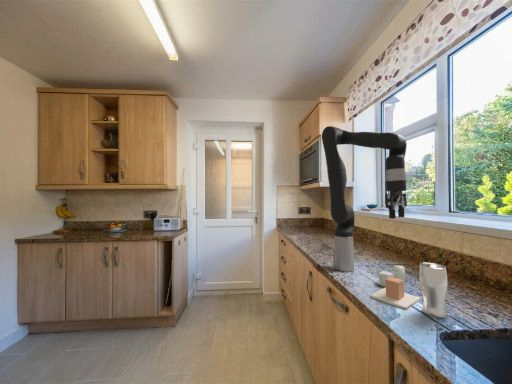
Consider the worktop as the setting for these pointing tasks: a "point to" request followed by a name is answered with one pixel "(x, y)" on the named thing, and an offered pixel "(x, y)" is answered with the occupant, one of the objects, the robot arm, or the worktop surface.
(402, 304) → the cream pad
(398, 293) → the terracotta block
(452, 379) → the worktop surface
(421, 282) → the beer glass
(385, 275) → the grey block
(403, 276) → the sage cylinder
